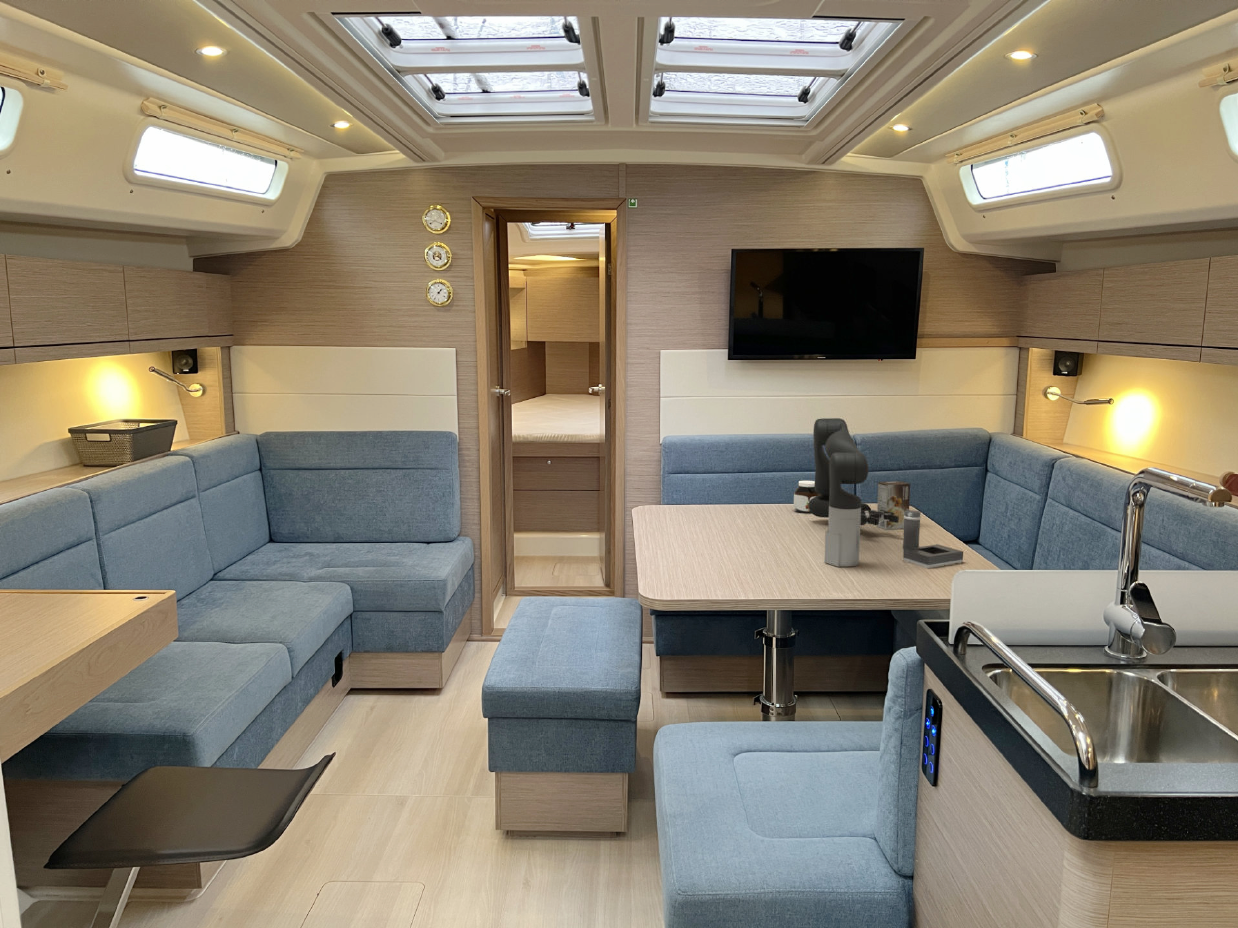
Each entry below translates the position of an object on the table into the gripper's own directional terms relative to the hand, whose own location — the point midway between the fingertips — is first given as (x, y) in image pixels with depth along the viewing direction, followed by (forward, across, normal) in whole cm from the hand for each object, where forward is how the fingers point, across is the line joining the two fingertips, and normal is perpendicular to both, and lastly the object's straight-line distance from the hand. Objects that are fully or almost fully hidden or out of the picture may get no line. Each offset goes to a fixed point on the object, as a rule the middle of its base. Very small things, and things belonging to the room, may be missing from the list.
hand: (888, 521), depth 291 cm
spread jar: (-52, +10, +7) cm, 53 cm away
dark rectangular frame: (+25, -6, +7) cm, 27 cm away
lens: (+10, 0, +7) cm, 13 cm away
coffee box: (-16, +17, +7) cm, 24 cm away
